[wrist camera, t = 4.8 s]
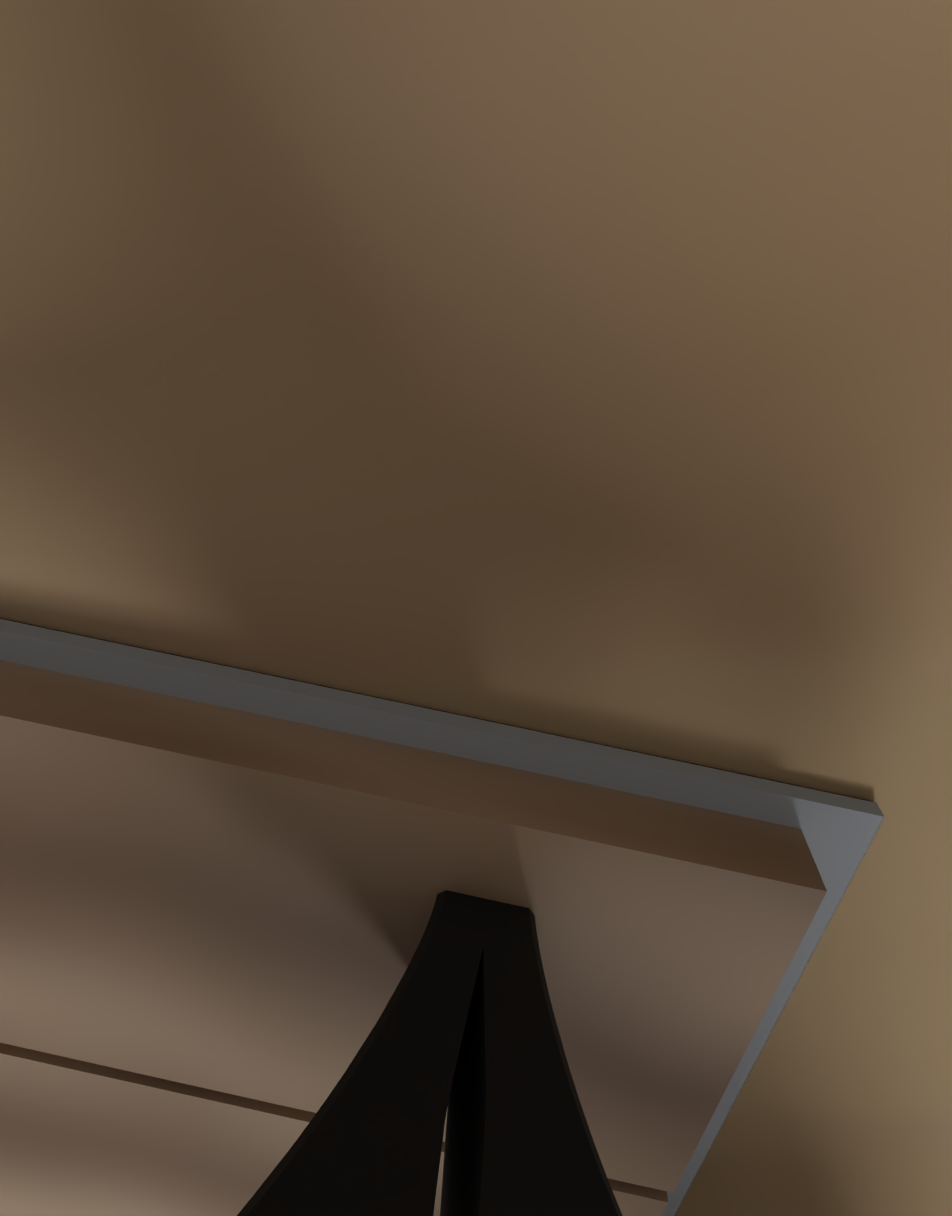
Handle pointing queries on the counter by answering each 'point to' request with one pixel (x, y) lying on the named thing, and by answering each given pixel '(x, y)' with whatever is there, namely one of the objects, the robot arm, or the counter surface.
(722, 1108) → the plate
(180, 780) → the board
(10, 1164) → the laid plank
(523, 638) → the counter surface
